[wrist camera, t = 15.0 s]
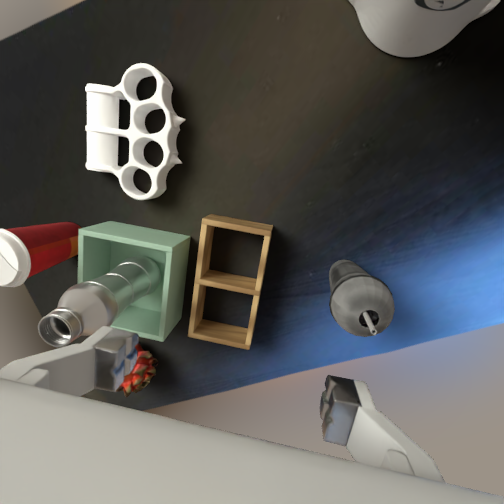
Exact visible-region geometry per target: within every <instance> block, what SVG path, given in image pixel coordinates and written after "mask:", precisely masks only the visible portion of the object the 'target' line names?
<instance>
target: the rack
mask: <svg viewBox="0 0 504 504" xmlns="http://www.w3.org/2000/svg"><path fill="white" fill-rule="evenodd" d="M215 226H216V227H221V228H226V229H232V230H237V231H242V232H248V233H253V234H258V235H264V236H265V237H264V242H263V248H262V253H261V259H260V265H259V270H258V276H257V279H255V278H250V277H245V276H239V275H234V274H229V273H224V272H219V271H214V270H209V264H210V257H211V249H212V242H213V234H214V227H215ZM272 230H273V225H268V224H263V223H257V222H252V221H246V220H241V219H235V218H230V217H224V216H219V215H214V214H210V215H208V216H206V217H204V218H202V225H201V233H200V242H199V250H198V258H197V266H196V274H195V282H194V291H193V299H192V307H191V315H190V323H189V332H188V337H192V338H196V339H201V340H206V341H210V342H215V343H219V344H224V345H229V346H233V347H238V348H242V349H247V350H249V349H250V345H251V341H252V337H253V332H254V327H255V321H256V316H257V311H258V305H259V300H260V294H261V289H262V284H263V278H264V273H265V267H266V262H267V257H268V251H269V246H270V240H271V235H272ZM206 286H211V287H216V288H221V289H225V290H230V291H235V292H240V293H245V294H250V295H254V298H253V304H252V309H251V315H250V320H249V326H248V329H247V328H242V327H238V326H233V325H228V324H223V323H219V322H214V321H209V320H205V319H202V316H203V309H204V301H205V294H206Z"/></svg>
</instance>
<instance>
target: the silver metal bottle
mask: <svg viewBox="0 0 504 504" xmlns="http://www.w3.org/2000/svg"><path fill="white" fill-rule="evenodd" d="M160 279H161V273H160V270H159V268H158V266H157V264H156V263H155V262H154V261H152V260H151V259H149V258H147V257H144V256H134V257H130V258H127V259H125V260H124V261H122V262H121V263H120V264H119V265H118V266H117V267H116V268H115V269H113V270H112V271H110V272H109V273H107V274H105V275H103V276H101V277H98V278H96V279H93V280H89V281H86V282H82V283H79V284H77V285H74V286H72V287H70V288H69V289H68V290H67V291H66V292H65V293H64V294H63V295H62V296H61V298H60V300H59V303H58V307H57V308H56V309H55V310H53V311H51V312H50V313H49V314H48V315H46V316H45V317H43V318H42V319H41V320H40V322H39V324H38V331H39V334H40V336H41V337H42V339H43V340H44V341H45V342H46V343H48V344H49V345H51V346H54V347H63V346H65V345H67V344H69V343H70V342H71V341H73V340H75V339H77V338H78V337H79V336H80V335H92V334H93V333H95V332H96V331H97V330H98V329H100V328H101V327H102V326H108V327H110V326H111V325H112V324H113V322H114V321H115V320H116V319H117V318H118V316H119V315H120V314H121V313H122V312H123V311H124V310H125V309H126V308H127V307H128V306H129V305H130V304H131V303H133V302H135V301H136V300H138V299H140V298H142V297H145V296H147V295H149V294H150V293H152V292H153V291H154V290H155V289H156V287H157V286H158V284H159V282H160Z"/></svg>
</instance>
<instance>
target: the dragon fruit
mask: <svg viewBox="0 0 504 504" xmlns="http://www.w3.org/2000/svg"><path fill="white" fill-rule="evenodd" d="M139 343H140V342H139ZM139 343H138V344H137V345H136V346H135V348H136V349H137V351H138V356H137V361H136V364H135V366H134V368H133V370H132V371H131V373H130V374H128V375H126V376H124V381H123V383H122V384H121V385H120V386H119V387H118V389H117V390H116V391H124V394H125V396H126V397H128V396H129V395H130V393H131V391H133V392H135V393H137V392H138V391H141V390H142V389H143V388H144V387H146V385H147V384H149V383H150V380H151V379H152V378H153V377H154V376H155V374H156V370H155V368H154V367H153V366H151V365H152V363H156V364H155V367H156V366H157V364H158V360H157V359H155V358H153V357H152V354H151V353H150V352H149V351H144V350H143V349H142V347H141V345H140V344H139Z"/></svg>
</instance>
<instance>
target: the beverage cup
mask: <svg viewBox="0 0 504 504" xmlns="http://www.w3.org/2000/svg"><path fill="white" fill-rule="evenodd" d="M329 280H330V289H331V296H330V303H329V306H330V311H331V314H332V316H333V318H334V319H335V321H336V322H337V323H338V324H339V325H340V326H341V327H342V328H343V329H344V330H346V331H347V332H349V333H351V334H354V335H356V336H364V337H367V336H374V335H376V334H378V333H381V332H382V331H383V330H385V329H386V328H387V327H388V326H389V324H390V322H391V321H392V319H393V315H394V310H395V308H394V301H393V297H392V293H391V292H390V290H389V288H388V286H387V285H386V284H385V283H384V282H382V281H381V280H380V279H378V278H375V277H373V276H370V275H369V274H368V273H367V272H365V271H364V270H363V269H362V268H361V267H359V266H358V265H357V264H355V263H354V262H352V261H350V260H339V261H337V262H335V263H334V264H333V265H332V267H331V269H330V272H329Z"/></svg>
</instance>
